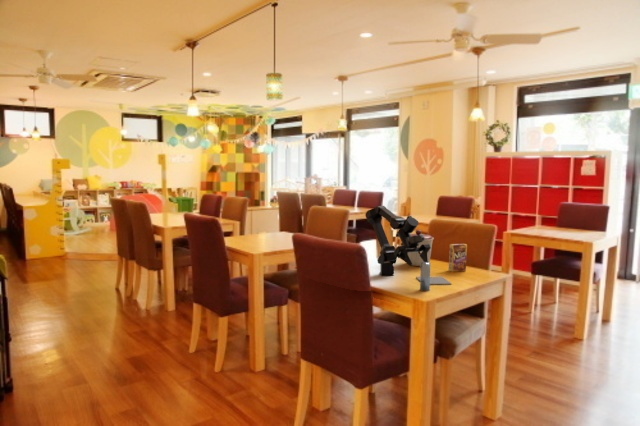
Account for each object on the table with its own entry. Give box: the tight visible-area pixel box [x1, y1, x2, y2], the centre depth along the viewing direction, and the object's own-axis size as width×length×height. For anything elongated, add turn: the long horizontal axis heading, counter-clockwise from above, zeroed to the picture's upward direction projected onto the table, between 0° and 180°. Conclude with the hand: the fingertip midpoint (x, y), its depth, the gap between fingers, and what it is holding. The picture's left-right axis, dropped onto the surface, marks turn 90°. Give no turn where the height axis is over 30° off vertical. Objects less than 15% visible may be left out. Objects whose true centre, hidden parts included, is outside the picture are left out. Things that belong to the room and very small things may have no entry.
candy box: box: [448, 243, 468, 272], centre depth 250 cm, size 9×4×15 cm, turn 103°
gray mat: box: [415, 276, 452, 286], centre depth 227 cm, size 14×14×1 cm
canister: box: [408, 229, 435, 267], centre depth 266 cm, size 18×18×21 cm
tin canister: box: [419, 261, 431, 292], centre depth 210 cm, size 4×4×13 cm
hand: (419, 264), depth 214 cm, fingers open, 9 cm apart
